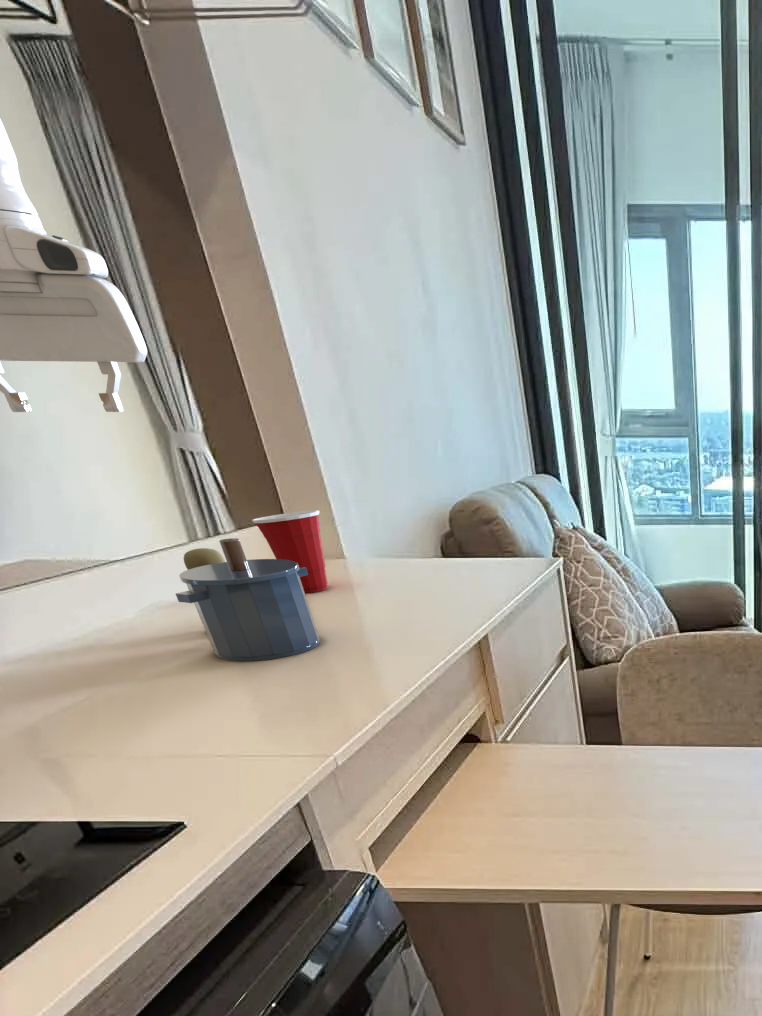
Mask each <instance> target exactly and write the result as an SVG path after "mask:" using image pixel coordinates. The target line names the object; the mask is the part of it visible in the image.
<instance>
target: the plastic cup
mask: <svg viewBox="0 0 762 1016" xmlns="http://www.w3.org/2000/svg"><path fill="white" fill-rule="evenodd" d="M319 515H320V510H318V509H317V510H316V509H315V510H303V511H294V512H287V513H281V514H273V515H267V516H262V517H257V518H253V519H251V521H252V523H253V524H255V525H256V526H257V528H258V529H259V530H260V532H261V533H262V535H263V537H264V539H265V540H266V542H267V544H268V546H269V548H270V550H271V552H272V554H273V556H274V559H283V560H291V561H294V562H297V563H298V565H299V567H306V570H307V573H308V575H306V576H301V577H300V580H301V583H302V586H303V589H304V592H305V594H308V593H310V594H311V593H317V592H322V591H325V590H327V589H328V578H327V572H326V562H325V555H324V549H323V542H322V538H321V528H320V519H319V517H320V516H319Z"/></svg>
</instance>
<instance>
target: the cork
mask: <svg viewBox="0 0 762 1016" xmlns="http://www.w3.org/2000/svg"><path fill="white" fill-rule="evenodd" d="M223 562H226V559H225V557H223V555H222V554H221V552H220V551H218V550H216V549H214V548H206V547H204V548H203V547H202V548H201V547H199V548H194V549H191V550H188V551H186V552H185V553H184V554H183V563H184V565H185V568H186V569H187V570H189V569H192V568H196V567H200V566H205V565H210V564H216V563H223Z"/></svg>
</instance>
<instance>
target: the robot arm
mask: <svg viewBox="0 0 762 1016" xmlns="http://www.w3.org/2000/svg"><path fill="white" fill-rule="evenodd" d="M39 216H40V215H39V214H38V212H37V209H36V208H35V206H34V204H33V203H32V201H31V200H30V198H29V196H28V194H27V193H26V190H25V188H24V186H23V183H22V181H21V175H20V171H19V164H18V159H17V156H16V153H15V151H14V148H13V145H12V143H11V141H10V137H9V136H8V133H7V130H6V127H5V125H4V123H3V121H2V118H1V117H0V393H2V394H3V395H4V397H5V399H6V402H7V405H8V407H9V408H10V410H11V412H13V413H31V412H32V407H31V404H30V403H28V397H27V395H26V393H25V392H17V391H16V390H15V389H14V388H13V386H11V385H10V384H9V382H7V381H6V379H5V378H4V377H3V376H2V375H1V374H5V370H4V367H3V366H2V363H1V362H75V363H76V362H81V363H82V362H84V363H87V362H89V363H90V362H91V363H92V362H93V363H95V362H96V364H97V365H98V369H99V370H100V373H101V375H107V381H106V390H105V392H99V393H98V396H99V398H100V401H101V402H102V403H103V404H102V406H103V409H104V411H105V412H106V413H123V412H124V407H123V404H122V401H121V399H120V397H119V394H118V393H119V391H120V385H121V379H122V373H121V370H120V368H119V367H120V366H119V365H118V363H144V362H146V361H145V360H146V358H147V355H148V348H147V345H146V342H145V339H144V337H143V334H142V332H141V329H140V327H139V325H138V322H137V320H136V318H135V316H134V314H133V311H132V309H131V308H130V305H129V303H128V301H127V300H126V298H125V296H124V295H123V293H122V292H121V291H120V289H119V288H118V287H117V286H116V285H114V283H112V282H110V281H108V280H107V279H105V278H108V276H109V269H108V267H107V266H108V265H107V262H106V260H105V259H104V257H103V256H102V255H101V254H100V253H98V252H96V251H94V250H92V249H90V248H87V247H84V246H81V245H79V244H75V243H73V242H69V240H68V239H67V238H64V237H63V236H58V235H55V234H54V235H50V234H47V231H46V230H45V228H44V226H43V223H42V221H41V218H40V217H39Z"/></svg>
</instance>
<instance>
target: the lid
mask: <svg viewBox="0 0 762 1016" xmlns="http://www.w3.org/2000/svg"><path fill="white" fill-rule="evenodd" d="M218 543H219V544H220V547H221V549H222V553H223V555H224V559H225V562H223V563H216V564H210V565H205V566H200V567H196V568H192V569H189V570H188V569H187V570H184V571H183V572H181V573H179V575H178V577H179V578H180V581H181V582H182V583H184V584H186V583H187V584H192V585H233V584H244V583H252V582H259V581H266V580H271V579H276V578H280V577H284V576H287V575H290V574H293V573H295V572H297V571H298V570H299V565H298V563H297V562H294V561H291V560H283V559H276V558H257V559H256V558H255V559H247V558H246V557H247V556H246V554H245V552H244V548H243V546H242V543H241V541H240V538H236V537H235V538H234V537H233V538H232V537H231V538H224V539H219V540H218ZM187 584H186V585H187Z"/></svg>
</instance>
